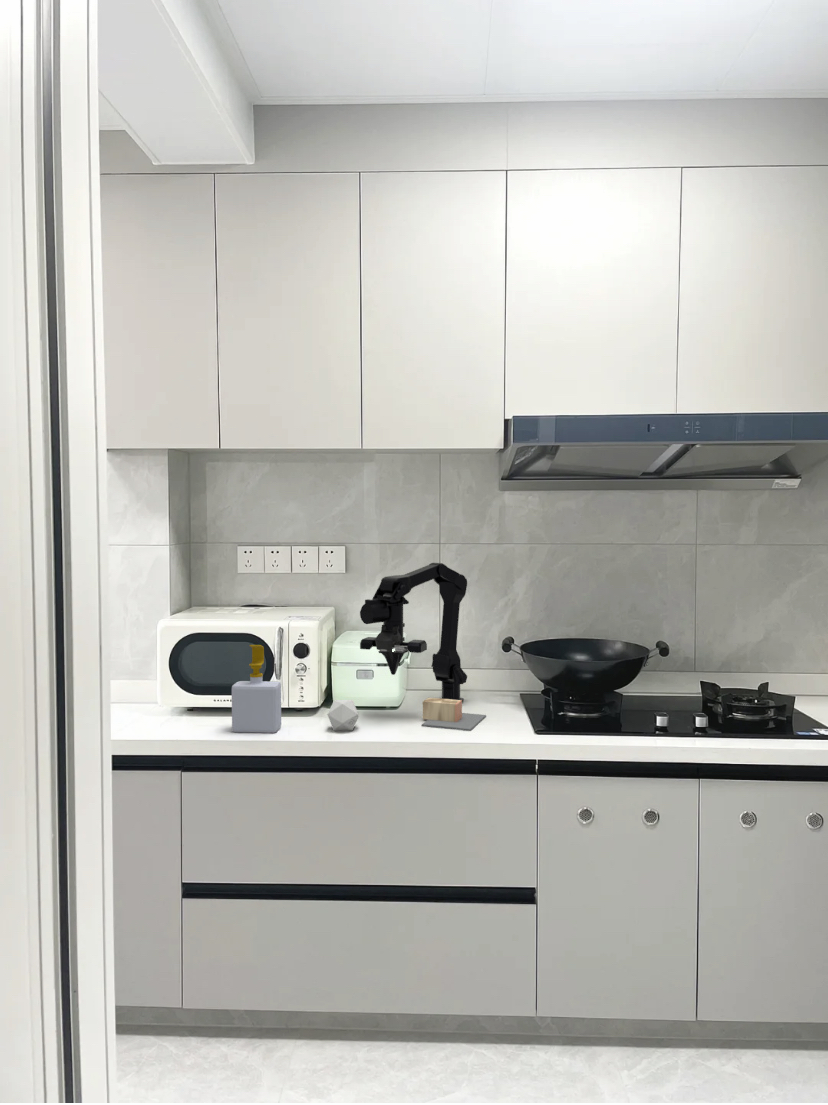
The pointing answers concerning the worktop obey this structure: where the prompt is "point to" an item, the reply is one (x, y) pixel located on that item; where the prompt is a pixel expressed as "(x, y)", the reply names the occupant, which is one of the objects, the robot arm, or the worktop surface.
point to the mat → (464, 723)
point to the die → (343, 715)
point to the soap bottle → (256, 700)
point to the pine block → (442, 709)
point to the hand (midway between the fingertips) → (393, 674)
